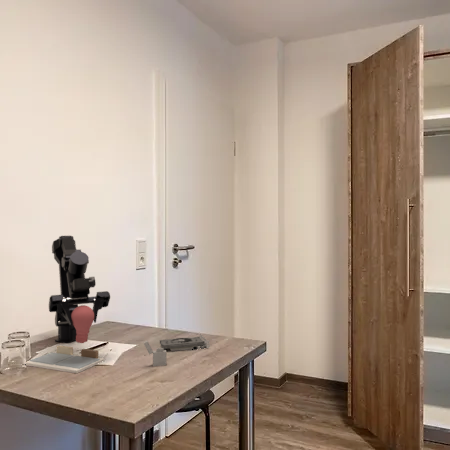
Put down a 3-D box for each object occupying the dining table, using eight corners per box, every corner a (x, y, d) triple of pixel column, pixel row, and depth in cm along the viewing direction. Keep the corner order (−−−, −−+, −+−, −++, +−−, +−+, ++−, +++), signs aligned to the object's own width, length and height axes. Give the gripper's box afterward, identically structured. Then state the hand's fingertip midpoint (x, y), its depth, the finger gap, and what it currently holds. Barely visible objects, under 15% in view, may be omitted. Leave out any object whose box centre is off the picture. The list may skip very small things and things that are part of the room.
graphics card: (202, 332, 172) (209, 339, 161) (202, 342, 172) (209, 350, 161) (157, 336, 168) (162, 343, 156) (158, 346, 168) (162, 354, 156)
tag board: (24, 365, 143) (24, 354, 143) (54, 353, 155) (54, 344, 155) (76, 373, 135) (76, 362, 135) (104, 360, 147) (104, 351, 147)
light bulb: (99, 341, 146) (99, 304, 146) (83, 347, 139) (82, 308, 139) (82, 339, 149) (82, 302, 149) (66, 344, 143) (65, 306, 142)
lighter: (165, 363, 144) (165, 338, 144) (166, 365, 143) (166, 339, 143) (143, 365, 143) (143, 340, 142) (143, 367, 141) (143, 341, 141)
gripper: (49, 270, 143) (54, 311, 133) (108, 267, 152) (117, 305, 142) (46, 291, 150) (51, 332, 140) (103, 287, 159) (111, 325, 149)
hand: (83, 323), depth 143 cm, fingers closed on light bulb, 7 cm apart
